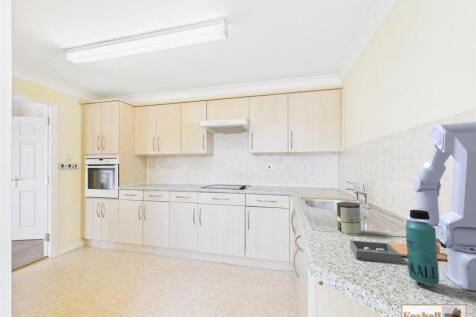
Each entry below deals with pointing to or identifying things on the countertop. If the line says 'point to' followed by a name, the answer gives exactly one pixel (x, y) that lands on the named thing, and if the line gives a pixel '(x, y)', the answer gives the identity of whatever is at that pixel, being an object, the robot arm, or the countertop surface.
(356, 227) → the coffee can
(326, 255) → the countertop surface
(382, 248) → the parts tub
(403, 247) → the tub lid
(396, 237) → the countertop surface
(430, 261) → the beverage bottle
